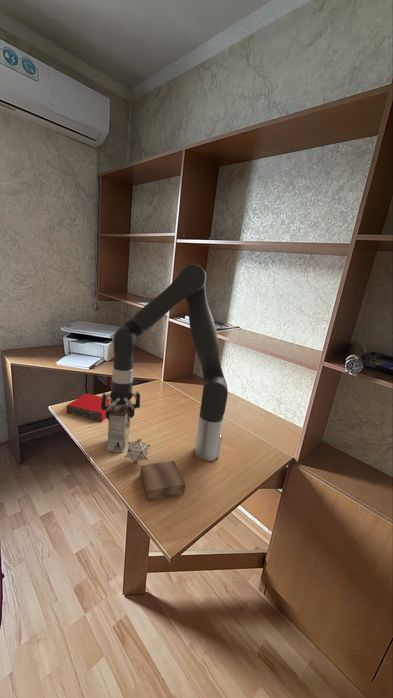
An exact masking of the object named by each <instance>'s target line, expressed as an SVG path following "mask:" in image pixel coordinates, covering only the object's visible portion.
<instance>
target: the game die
mask: <svg viewBox="0 0 393 698" xmlns="http://www.w3.org/2000/svg"><path fill="white" fill-rule="evenodd" d="M127 444H128V445H127V446H128V447H127V452H126V455H125V456H124V458H127V457H128V458H129V459H130V460H131V461H133V464H136V463H138V462H139V461H143V460H146V461H148V458H147V455H148V450H149V447H150V446H151V445H150V444H147V443H145V442H143V441H142V438H138V439H137V440H136V441H133V442H130V441H128V442H127Z"/></svg>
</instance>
